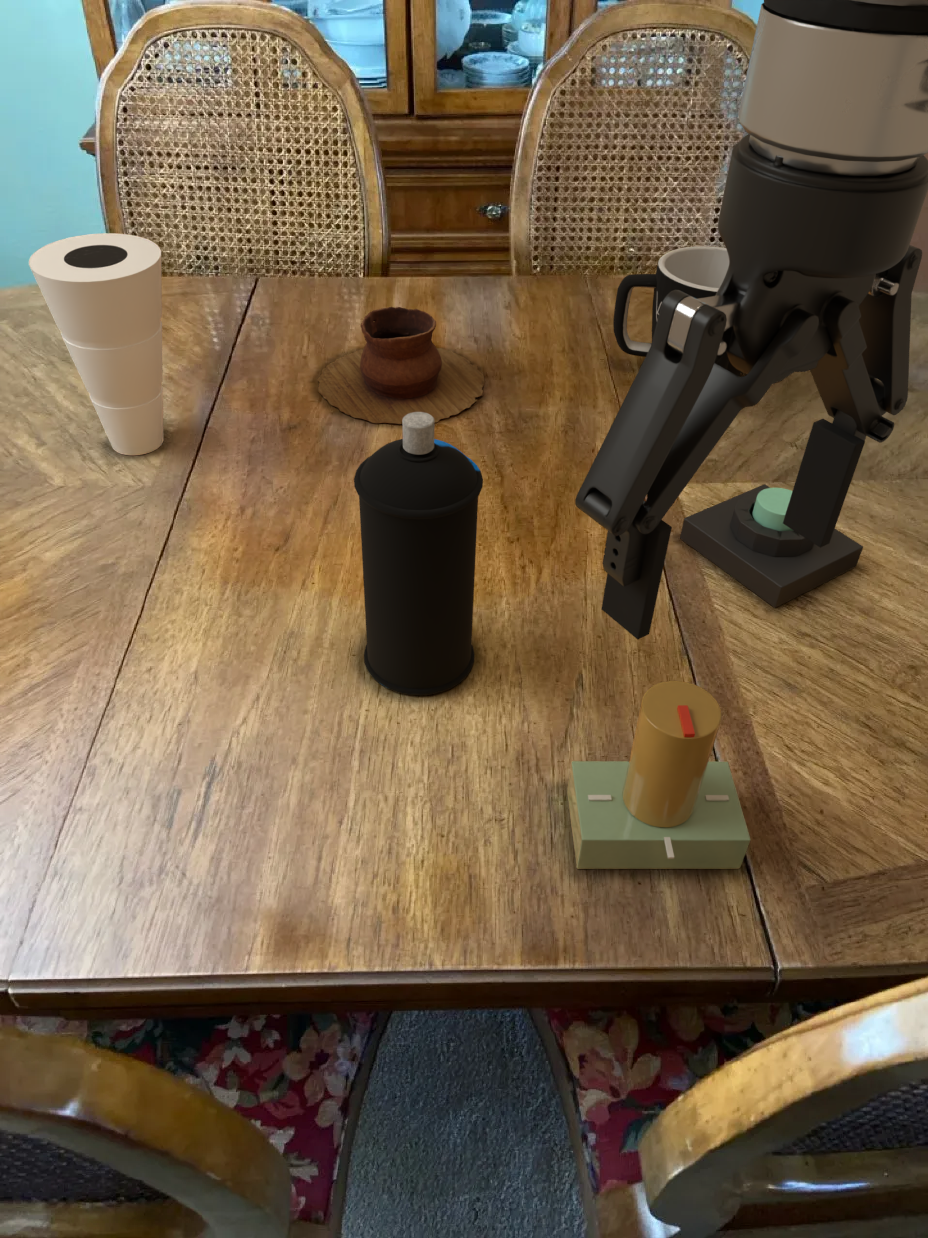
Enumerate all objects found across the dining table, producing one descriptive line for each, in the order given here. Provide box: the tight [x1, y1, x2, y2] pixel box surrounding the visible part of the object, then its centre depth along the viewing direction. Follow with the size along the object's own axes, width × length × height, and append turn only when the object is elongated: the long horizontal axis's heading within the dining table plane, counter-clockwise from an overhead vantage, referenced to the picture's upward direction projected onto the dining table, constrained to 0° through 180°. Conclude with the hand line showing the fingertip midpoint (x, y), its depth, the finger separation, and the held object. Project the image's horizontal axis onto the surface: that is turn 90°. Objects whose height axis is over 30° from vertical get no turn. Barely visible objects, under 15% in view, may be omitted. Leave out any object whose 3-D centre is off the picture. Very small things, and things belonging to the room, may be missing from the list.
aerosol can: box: [353, 412, 484, 696], centre depth 65 cm, size 8×8×20 cm
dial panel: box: [566, 760, 752, 870], centre depth 60 cm, size 10×9×3 cm
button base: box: [679, 483, 864, 609], centre depth 81 cm, size 11×10×4 cm
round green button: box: [752, 487, 794, 531], centre depth 80 cm, size 4×4×2 cm
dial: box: [622, 680, 723, 828], centre depth 56 cm, size 4×4×8 cm
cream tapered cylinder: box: [28, 232, 164, 456], centre depth 87 cm, size 11×11×18 cm
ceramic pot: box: [316, 306, 486, 425], centre depth 101 cm, size 18×18×7 cm
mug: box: [612, 245, 742, 377], centre depth 103 cm, size 16×16×12 cm
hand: (720, 575), depth 51 cm, fingers open, 13 cm apart
